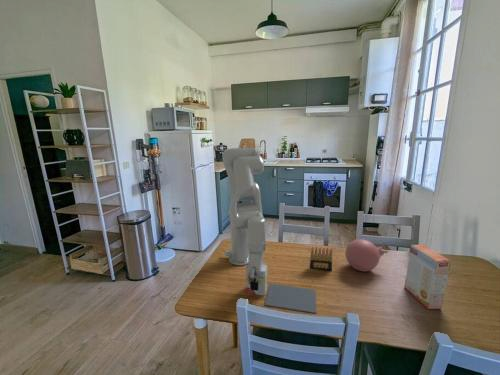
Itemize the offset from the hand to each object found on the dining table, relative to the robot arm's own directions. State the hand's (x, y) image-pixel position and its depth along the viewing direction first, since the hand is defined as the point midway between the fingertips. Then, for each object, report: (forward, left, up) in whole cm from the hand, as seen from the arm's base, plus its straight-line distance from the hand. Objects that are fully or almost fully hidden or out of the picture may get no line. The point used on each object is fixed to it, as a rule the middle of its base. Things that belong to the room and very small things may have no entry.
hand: (256, 282), depth 104 cm
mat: (+15, -1, -4) cm, 15 cm away
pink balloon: (+50, +29, -5) cm, 58 cm away
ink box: (0, 0, -5) cm, 5 cm away
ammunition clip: (+28, +24, -5) cm, 37 cm away
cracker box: (+68, +11, -5) cm, 69 cm away
